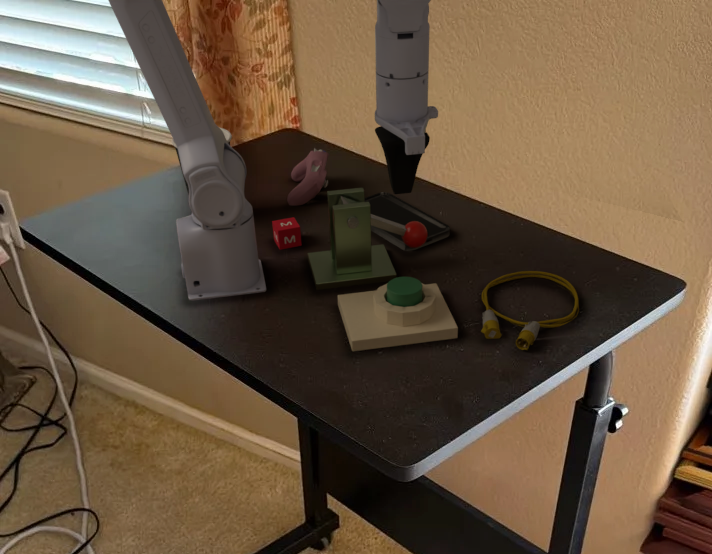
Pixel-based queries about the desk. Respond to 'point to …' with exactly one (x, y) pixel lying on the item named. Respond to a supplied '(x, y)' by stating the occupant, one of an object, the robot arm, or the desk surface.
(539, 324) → the extension cord
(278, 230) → the red letter cube
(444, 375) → the desk surface
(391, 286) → the button
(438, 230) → the phone
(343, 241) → the switch bracket
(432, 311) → the switch plate
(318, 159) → the video game controller
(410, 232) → the switch lever
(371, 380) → the desk surface
